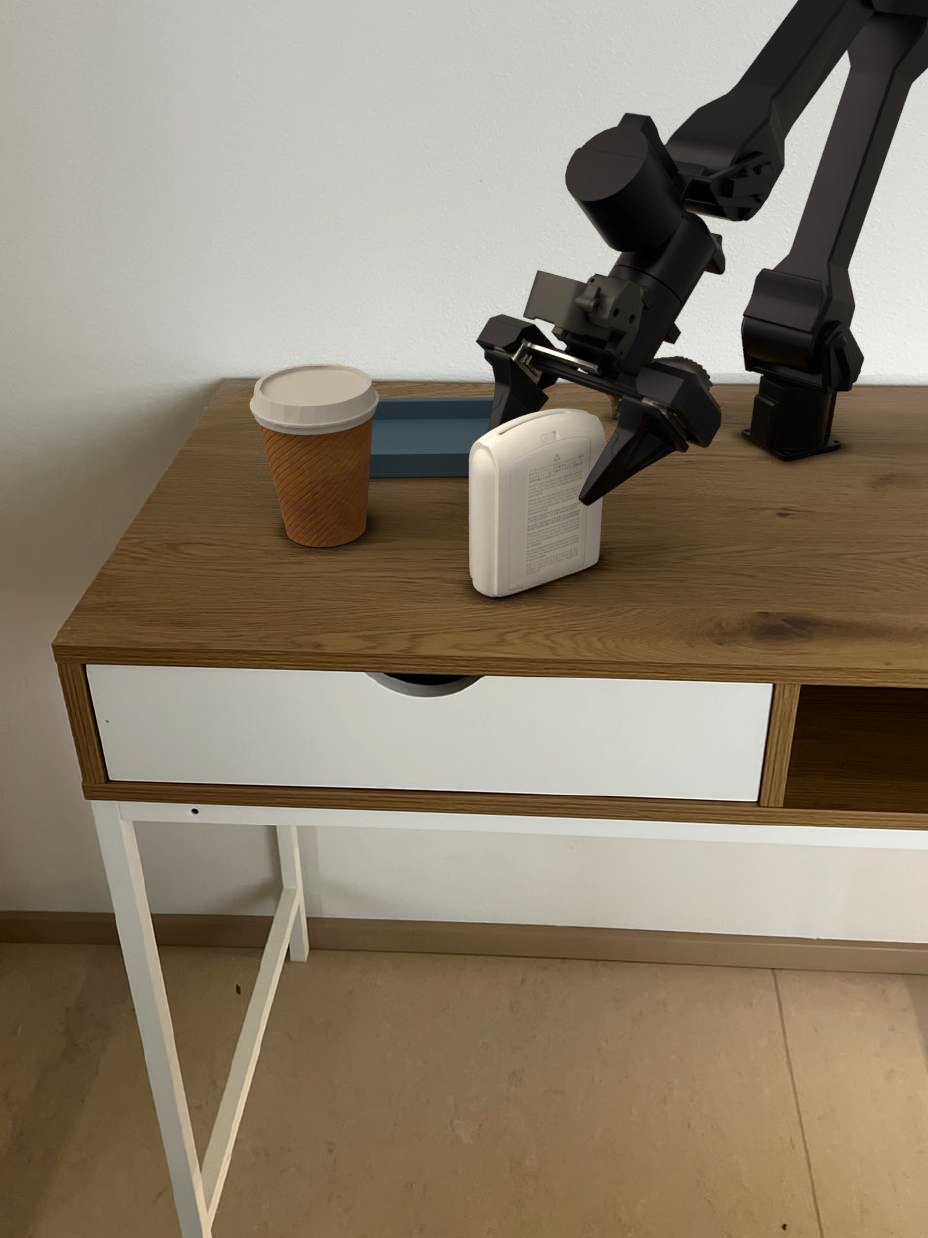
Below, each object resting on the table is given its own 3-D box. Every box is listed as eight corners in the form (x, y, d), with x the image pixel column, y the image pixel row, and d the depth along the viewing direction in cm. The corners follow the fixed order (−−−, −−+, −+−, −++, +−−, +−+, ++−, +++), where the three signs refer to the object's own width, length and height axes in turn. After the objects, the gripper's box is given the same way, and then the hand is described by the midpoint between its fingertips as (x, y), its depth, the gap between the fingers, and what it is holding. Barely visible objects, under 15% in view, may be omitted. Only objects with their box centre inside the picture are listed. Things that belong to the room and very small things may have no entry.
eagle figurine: (621, 430, 103) (719, 408, 102) (604, 353, 103) (702, 330, 102) (612, 443, 110) (704, 422, 110) (596, 371, 110) (688, 350, 110)
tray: (508, 418, 108) (508, 396, 107) (512, 475, 98) (513, 452, 97) (323, 420, 109) (321, 398, 107) (307, 478, 98) (305, 454, 97)
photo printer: (572, 542, 88) (578, 389, 81) (608, 565, 85) (617, 408, 78) (460, 581, 83) (457, 422, 76) (494, 607, 80) (494, 443, 73)
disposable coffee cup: (282, 568, 85) (264, 417, 79) (253, 513, 93) (235, 371, 86) (402, 543, 88) (395, 396, 81) (365, 493, 95) (356, 354, 89)
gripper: (494, 198, 79) (380, 390, 79) (715, 247, 68) (582, 472, 67) (567, 288, 88) (464, 461, 88) (773, 345, 77) (656, 545, 76)
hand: (533, 481), depth 80 cm, fingers open, 9 cm apart
